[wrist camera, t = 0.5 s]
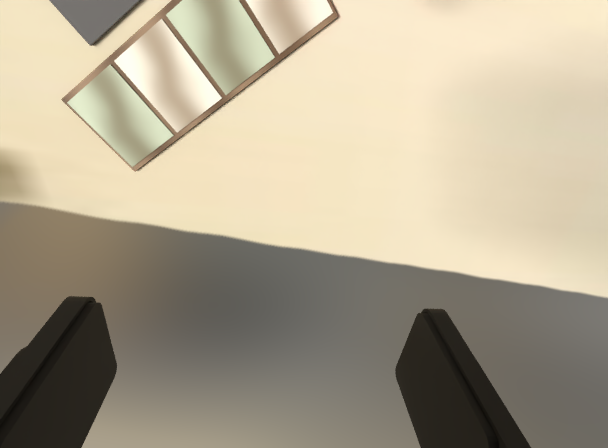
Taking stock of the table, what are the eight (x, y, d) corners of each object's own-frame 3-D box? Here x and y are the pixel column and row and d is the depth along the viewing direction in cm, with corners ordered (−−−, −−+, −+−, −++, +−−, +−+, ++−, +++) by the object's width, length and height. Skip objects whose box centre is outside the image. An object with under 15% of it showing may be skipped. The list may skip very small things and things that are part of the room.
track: (280, -96, 26) (280, -98, 25) (337, 16, 30) (338, 16, 29) (63, 98, 31) (60, 99, 31) (135, 170, 35) (134, 171, 35)
